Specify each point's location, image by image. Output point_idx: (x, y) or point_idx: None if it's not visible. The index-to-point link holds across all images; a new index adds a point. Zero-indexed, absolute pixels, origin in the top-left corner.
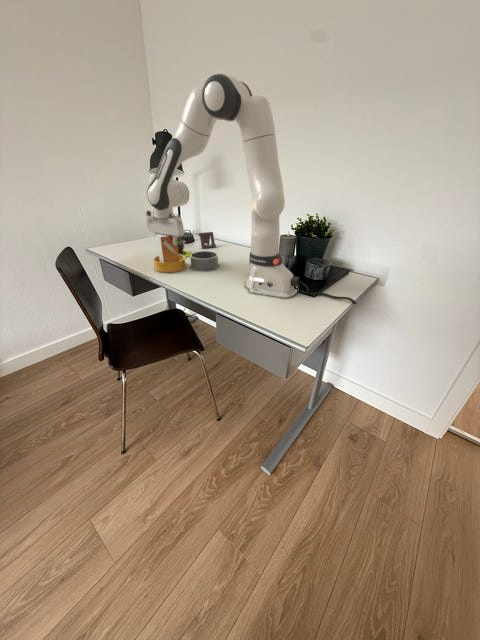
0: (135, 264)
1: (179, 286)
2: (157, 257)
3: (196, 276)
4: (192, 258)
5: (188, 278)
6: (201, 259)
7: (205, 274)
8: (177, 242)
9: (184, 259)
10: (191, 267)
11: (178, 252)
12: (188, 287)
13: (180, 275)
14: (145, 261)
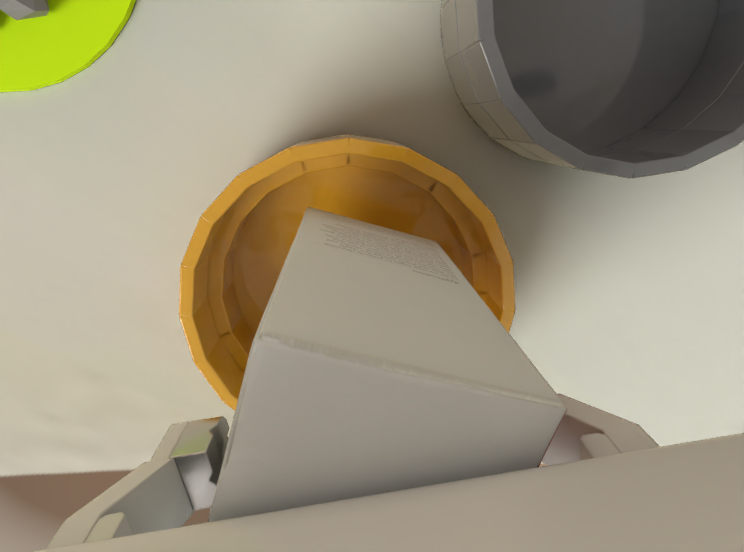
0: (48, 417)
1: (679, 439)
2: (211, 359)
3: (673, 257)
4: (602, 173)
5: (644, 323)
6: (738, 143)
7: (714, 175)
8: (504, 328)
9: (482, 203)
10: (505, 146)
11: (460, 272)
12: (739, 414)
13: (550, 325)
14: (13, 322)
